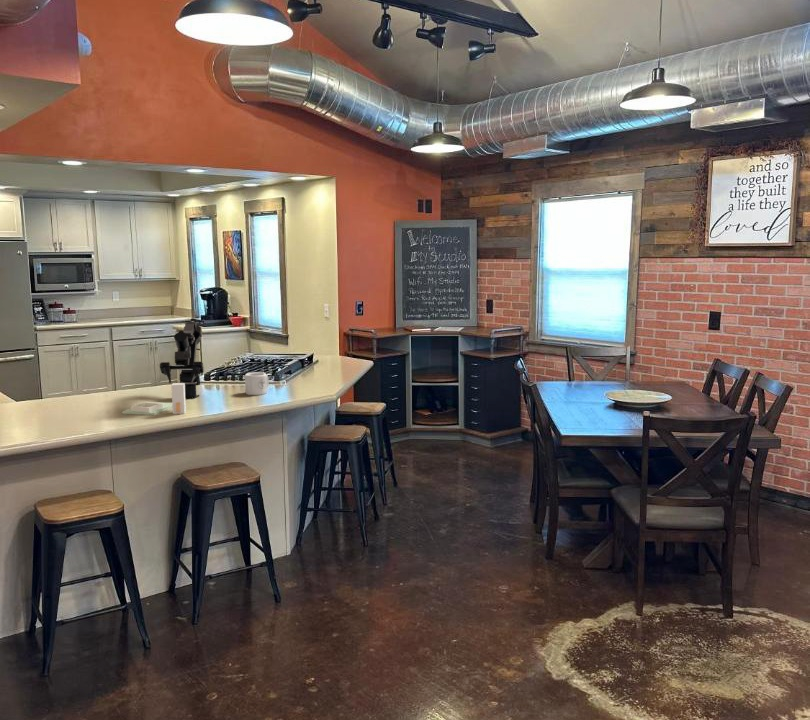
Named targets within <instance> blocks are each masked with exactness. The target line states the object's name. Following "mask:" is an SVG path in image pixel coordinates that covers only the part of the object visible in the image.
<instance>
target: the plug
mask: <svg viewBox="0 0 810 720" xmlns="http://www.w3.org/2000/svg"><path fill="white" fill-rule="evenodd" d="M171 403H172V407H171V409H172V415H180V414H181V415H183V414H186V412H187V408H186V406H187V405H186V403H187V402H186V398H185V383H180V382H177V383H176V382H173V383H172V384H171Z"/></svg>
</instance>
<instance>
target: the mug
mask: <svg viewBox="0 0 810 720" xmlns="http://www.w3.org/2000/svg"><path fill="white" fill-rule="evenodd" d="M244 387H245V389H244V390H245V391H244V392H245V394H246V395H248V396H262V395H266V394H267V393H268V387H269V375H267V373H265V372H261V371H260V372H259V371H256V372H247V373H246V374H244ZM261 394H262V395H261Z"/></svg>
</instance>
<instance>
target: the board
mask: <svg viewBox="0 0 810 720" xmlns="http://www.w3.org/2000/svg"><path fill="white" fill-rule="evenodd" d="M150 402H151V403H159V401H158V402H157V401H156V402H154V401H153V402H152V401H150ZM161 403H162V404H163V408H161V409H158V410H155V411H152V412H139V411H131V407H130V408H127V409H125V410H123V411H122V412H121V414H122V415H138V416H139V415H140V416H141V415H142V416H143V415H145V416H156V415H158V414H161V413H162V412H164V411H166V410H168V409H170V408H171V409H172V402H161Z"/></svg>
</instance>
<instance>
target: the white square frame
mask: <svg viewBox="0 0 810 720" xmlns="http://www.w3.org/2000/svg"><path fill="white" fill-rule="evenodd" d="M151 402H152V401H143V402H140V403H137V404H134V405H131V406H130V408H131V411H139V412H152V411H155V410H158V409H161V408H163V404H162V403H163V402H158V403H151Z"/></svg>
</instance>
